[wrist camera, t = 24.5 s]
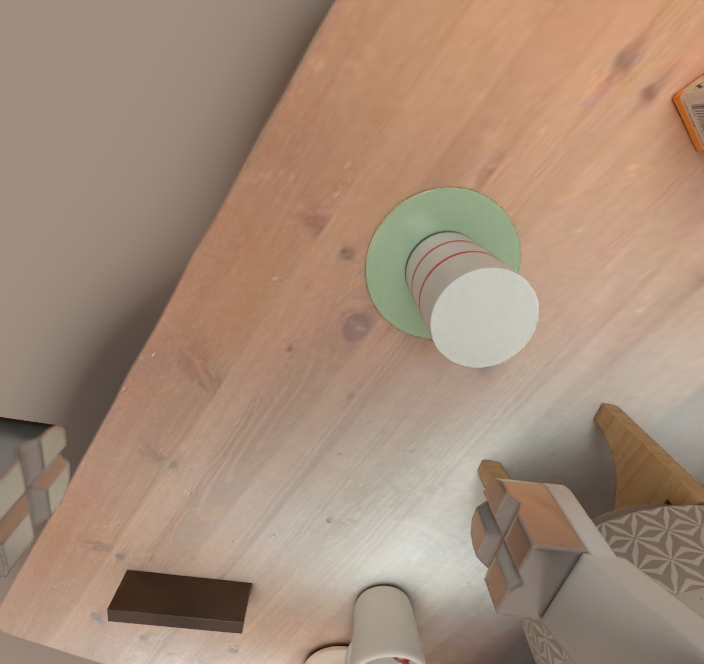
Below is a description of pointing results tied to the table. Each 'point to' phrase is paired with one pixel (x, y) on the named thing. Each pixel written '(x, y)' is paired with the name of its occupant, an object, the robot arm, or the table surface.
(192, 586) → the rail
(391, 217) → the coaster
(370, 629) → the cup
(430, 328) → the white striped cylinder
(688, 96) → the supplement box
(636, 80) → the table surface
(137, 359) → the table surface
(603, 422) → the planter
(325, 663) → the mug
